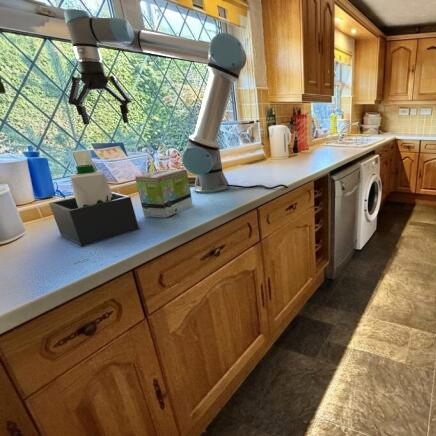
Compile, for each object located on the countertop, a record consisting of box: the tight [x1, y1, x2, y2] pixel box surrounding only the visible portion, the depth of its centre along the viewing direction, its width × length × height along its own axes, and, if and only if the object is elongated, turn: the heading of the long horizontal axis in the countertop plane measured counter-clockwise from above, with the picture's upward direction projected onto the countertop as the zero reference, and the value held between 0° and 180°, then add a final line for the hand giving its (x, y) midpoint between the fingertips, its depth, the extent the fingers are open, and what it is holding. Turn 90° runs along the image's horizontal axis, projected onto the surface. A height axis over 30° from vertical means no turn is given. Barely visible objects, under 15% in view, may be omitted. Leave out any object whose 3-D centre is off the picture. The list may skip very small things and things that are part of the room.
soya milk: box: [70, 164, 113, 208], centre depth 91 cm, size 9×9×20 cm
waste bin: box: [48, 191, 140, 248], centre depth 93 cm, size 16×16×11 cm
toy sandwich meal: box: [188, 175, 196, 187], centre depth 155 cm, size 12×14×5 cm
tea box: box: [134, 168, 194, 219], centre depth 111 cm, size 15×10×15 cm, turn 168°
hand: (106, 123), depth 115 cm, fingers open, 13 cm apart
